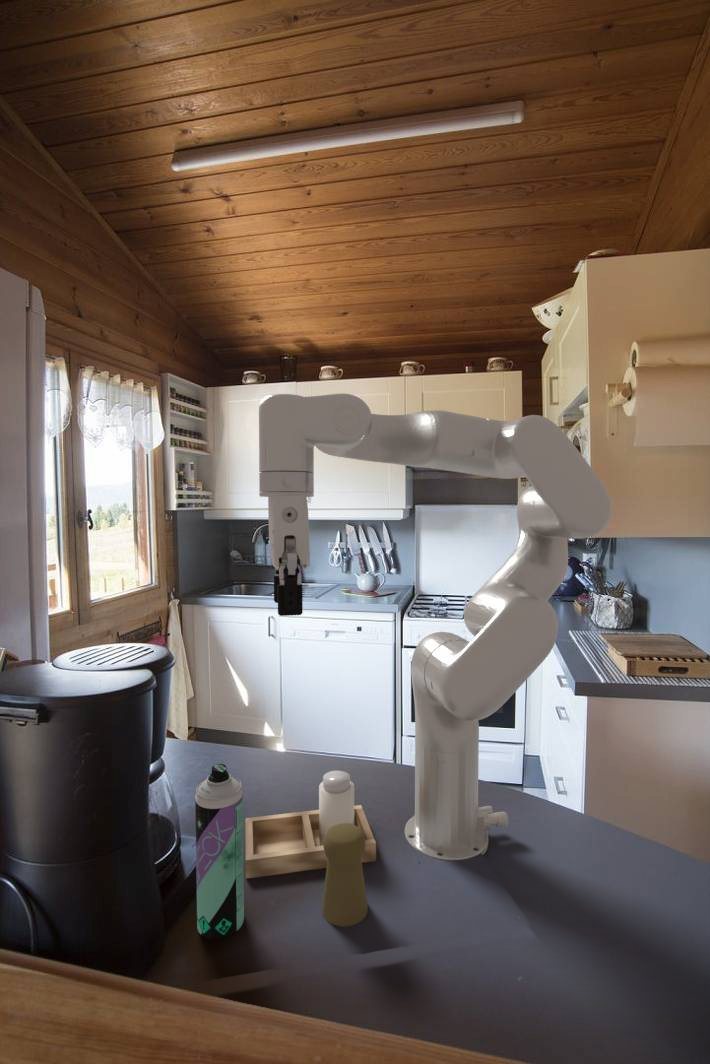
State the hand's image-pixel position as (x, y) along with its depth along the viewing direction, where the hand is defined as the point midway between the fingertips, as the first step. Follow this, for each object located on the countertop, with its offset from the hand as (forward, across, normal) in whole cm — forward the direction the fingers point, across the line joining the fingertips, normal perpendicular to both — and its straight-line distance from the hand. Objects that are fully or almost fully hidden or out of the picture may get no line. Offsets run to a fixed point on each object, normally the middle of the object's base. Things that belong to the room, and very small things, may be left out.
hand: (287, 608), depth 76 cm
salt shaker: (+36, +1, -7) cm, 36 cm away
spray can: (+37, -11, +9) cm, 40 cm away
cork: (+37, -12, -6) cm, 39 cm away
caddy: (+37, +1, -3) cm, 37 cm away
